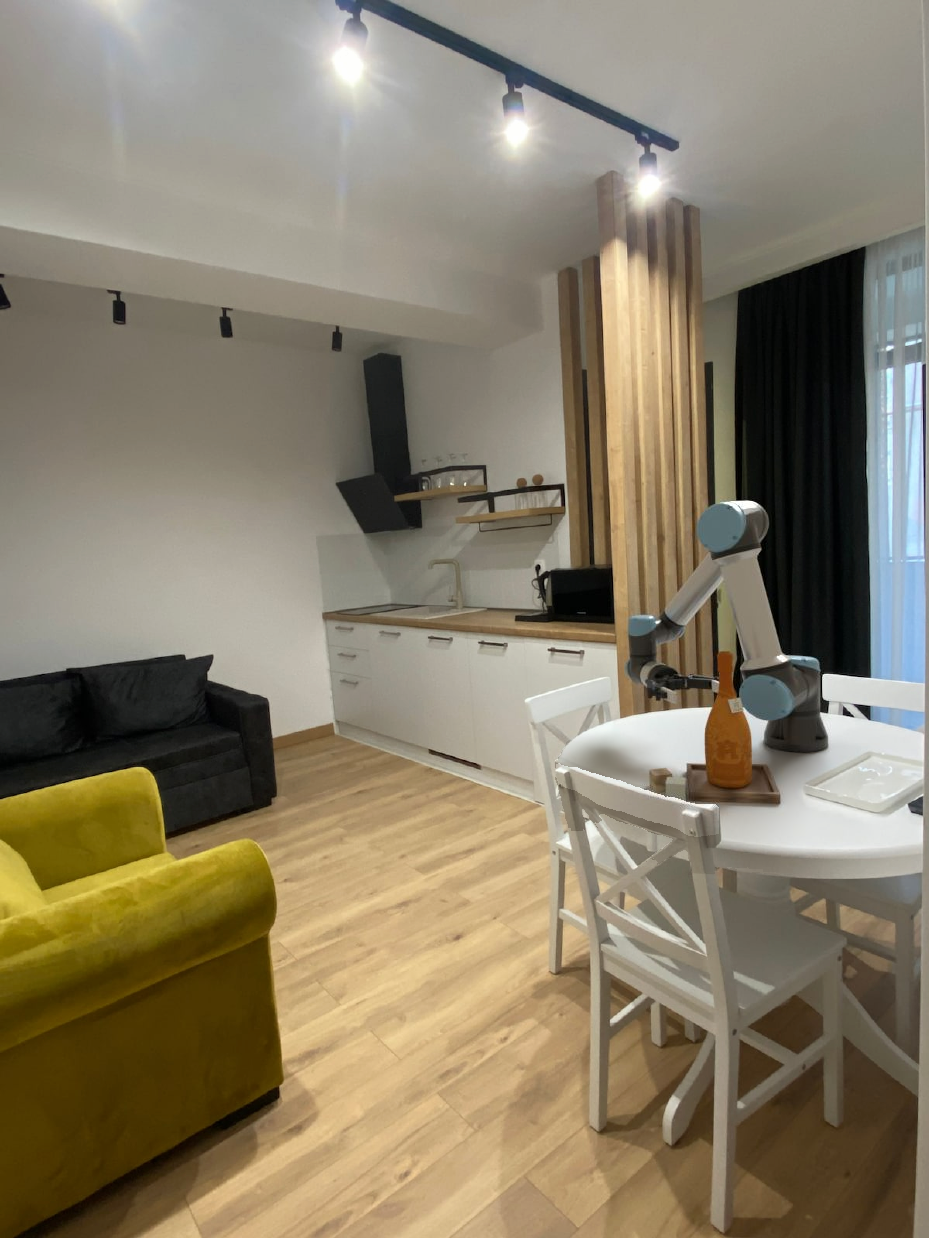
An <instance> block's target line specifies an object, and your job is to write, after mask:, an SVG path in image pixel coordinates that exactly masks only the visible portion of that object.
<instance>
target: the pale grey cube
mask: <svg viewBox="0 0 929 1238" xmlns="http://www.w3.org/2000/svg"><path fill="white" fill-rule="evenodd" d="M687 790H688V789H687V777H679V776H678V777H677V776H673V777H667V780H666V791H665V797H666V796H668V797H675V798H678V799H681V800H684V801H687V796H688V792H687Z"/></svg>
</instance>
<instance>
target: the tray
mask: <svg viewBox="0 0 929 1238" xmlns="http://www.w3.org/2000/svg"><path fill="white" fill-rule="evenodd" d="M685 764H686V775H687V777H686V778H687V783H688V792H689V800H690V802H714V803H715V802H717V803H718V802H719V803H721V802H722V803H746V804H747V803H750V804H751V803H752V804H753V803H754V804H756V803H757V804H781V803H782V800H781V793H780V790H779V788H778V786H777V784H776V781H775V780H774V776H773V775H772V772H771V770H770V768H769V766H768V764H766V763H764V764H762V763H760V764H758V763H754V764H753V763H752V779H751V782H750V784H748V785H747V786H745V787H741V788H723V787H718V786H715V785H713V784H712V783H710V782H709V781H708V779H707V773H706V763H701V762H700V763H699V762H698V763H695V762H693V763H692V762H691V763H687V762H686V763H685Z"/></svg>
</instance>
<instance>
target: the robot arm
mask: <svg viewBox="0 0 929 1238" xmlns="http://www.w3.org/2000/svg"><path fill="white" fill-rule="evenodd" d="M766 511H767V510H765V509H764V507H763V506H761V504H759V503H757V502H755V501H752V500H735V501H731V500H726V501H720V502H719V503H718V502H717V503H714V504H712V505H710V506H708V507H707V508H706V509H705V510H704V511H703V512H702V514H700V517H699V518H698V521H697V524H696V536H697V539H698V542H699V543H700V544H701V546H703V547H704V548H705V549H707V550H708V551H709V552H708V553H707V554H706V556H705V557H704V558H703V559H702V561H700V563H699V564H698V566H697V567H696V568H695V570H694V571H693V572H692V574H691V575H690V576H689V578H688V579H687V580H686V581H685V583H684V584H683V585H682V586H681V587H680V588H679V590H678V591H677V592H676V594H675V595H674V596H673V597H672V599H671V600H670V601H669V603H668V604H667V606H665V608H664V609H663V611H662V612H661V613H660V614H659V616H657V618H656V617H655V616H653V615H651V614H650V615H649V614H640V615H639V614H638V615H631V616H630V617H629V618H628V620H627V635H628V636H627V637H628V650H629V658H628V659H627V660H626V663H625V665H624V672H625V674H626V677H627V678H628V679H630V680H631V681H633V682H634V683H636V684H639V685H641V686H644V688H645V690H646V693H647V696H646V697H647V699H652V698H653V697H655V701H657V702H659V701H661V699H662V700H664V701H667V702H669V703H671V704H674V705H677V704H678V693H677V692H676V691H681V690H686V691H687V690H691V689H699V690H710V691H712V692H714V693H717V694H718V688H719V677H718V676H707V675H699V674H695V673H689V675H682V674H680V673H679V672H678V671H677V669H675V668H674V667H672V666H670V665H668V664H667V665H666V664H664V663H662V662H658V647H657V646H660V645H663V644H665V643H666V644H667V643H669V642H674V641H676V640H677V639H679V638H681V637H682V636H683V635H684V634H685V631H686V625H687V624H688V623H689V622H690V620H691V619H692V618H693V617H694V616H695V615H696V613H697V612H699V610H700V609H701V607H702V606H703V605H704V604H705V603H706V602H707V601H708V599H709V598H710V597H711V595H712V594H713V593H714V592H715V591H716V589H717V588H718V587H719V586H720V585H721V583H722V582H724V586H725V589H726V593H727V598H728V600H729V601H728V602H729V605H730V609H731V612H732V617H733V621H734V624H735V628H736V631H737V634H738V636H737V637H738V639H739V644H740V647H741V650H742V654H743V658H744V661H743V663H742V664H741V665H740V668H739V669H740V672H741V677H742V680H743V682H742V684H740V688H739V693H738V694H739V697H738V698H741V702H742V706H743V709H744V710H745V711H746V712H747V713H749V714H750V715H751V716H752V717H755V718H756V719H759V720H762V721H767V724H766V726H765V728H764V732H763V742H764V744H765V745H766V746H768V747H771V748H773V749H776V750H779V751H780V750H781V751H785V752H786V751H787V752H795V753H796V752H797V753H798V752H799V753H809V752H816V751H822V750H824V749H826V748H827V747H829V734H828V732H827V730H826V727H825V724H824V722H823V719H822V717H821V675H820V674H821V668H820V662H819V660H818V659H817V658H815V657H812V656H803V655H790V654H788V655H786V654H785V653H783V651H782V648H781V645H780V641H779V636H778V634H777V629H776V626H775V622H774V618H773V614H772V611H771V607H770V603H769V599H768V596H767V591H766V588H765V585H764V579H763V576H762V572H761V568H760V565H759V561H758V556H759V553H760V552H761V551H762V546H761V542H762V540H763V539H764V538H765V536H766V535H767V532H768V529H769V526H770V521H769V516H768V513H767V512H766Z"/></svg>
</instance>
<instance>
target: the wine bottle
mask: <svg viewBox="0 0 929 1238" xmlns="http://www.w3.org/2000/svg"><path fill="white" fill-rule="evenodd" d="M716 659H717V671H718V673H719V674H718V678H719V688H718V693H717V695H716V698H715V700H714V703H713V705H712V707H711V709H710V712H709V714H708V716H707V721H706V724H705V728H704V757H705V759H704V760H705V764H706V773H707V779H708V781H709V782H710V783H712V784H713V785H715V786H718V787H723V788H741V787H745V786H747V785H748V784H750V782H751V779H752V764H753V749H752V748H753V746H752V744H753V743H752V732H751V728H750V725H749V722H748V719H747V717H746V714H745V712H744V710H745V709H744V707H743V705H742V702H741V698H740V697H737V692H736V690H735V688H734V682H733V672H734V665H733V664H734V662H733V661H734V660H733V659H734V654H733V653H732V652H731V651H728V650H723V651H721V650H720V651H719V652H718V653H716Z"/></svg>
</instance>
